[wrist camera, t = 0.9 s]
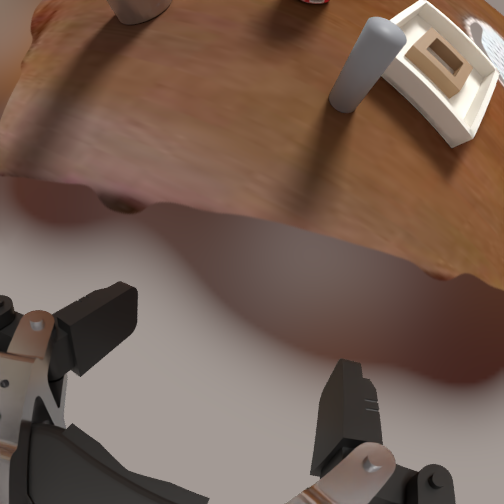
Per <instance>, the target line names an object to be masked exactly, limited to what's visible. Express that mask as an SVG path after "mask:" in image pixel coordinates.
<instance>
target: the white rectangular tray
mask: <svg viewBox="0 0 504 504" xmlns="http://www.w3.org/2000/svg"><path fill="white" fill-rule="evenodd" d="M389 21H391V22H393V23H394V24H396V25H397V26H398V27H399V28H400V29H401V30H402V31H403V32H404V34H405V36H406V39H407V43H406V44H405V46H404V47H403V48H402V50H401V51H400V52H399V53H398V55H397V56H396V57H395V58H394V60H393V61H392V62H391V64H390V65H389V66H388V67H387V69H386V70H385V71H384V73H383V74H382V75H381V77H383V78H384V79H385V80H386V81H387V82H388V83H390V84H391V85H392V86H393V87H394V88H395V89H396V90H397V91H398V92H399V93H401V94H402V95H403V96H404V97H405V98H406V99H407V100H408V101H409V102H410V103H411V104H412V105H413V106H414V107H415V108H416V109H417V110H418V111H419V112H420V113H421V114H422V115H423V116H424V117H425V118H426V119H427V120H428V122H429V123H430V124H431V125H432V126H433V127H434V128H435V129H436V130H437V132H438V133H439V134H440V135H441V136H442V137H443V138H444V140H445V141H446V142H447V143H448V144H449V146H450V147H451V148H454V147H456V146H458V145H460V144H463V143H465V142H467V141H469V140H471V139H473V138H474V136H475V134H476V132H477V129H478V127H479V125H480V123H481V121H482V118H483V116H484V114H485V111H486V109H487V106H488V104H489V101H490V99H491V96H492V93H493V91H494V88H495V85H496V82H497V80H498V77H499V74H500V72H499V71H498V69H497V68H496V67H495V66H494V65H493V63H492V62H491V61H490V60H489V59H488V58H487V56H486V55H485V54H484V53H483V52H482V51H481V50H480V49H479V48H478V47H477V45H476V44H475V43H474V42H473V41H472V40H471V39H470V38H469V37H468V36H467V35H466V34H465V33H464V32H463V31H462V30H461V29H459V28H458V27H457V26H456V25H455V24H454V23H453V22H452V21H451V20H450V19H448V18H447V17H446V16H445V15H444V14H443V13H441V12H440V11H439V10H438V9H437V8H435V7H434V6H433V5H432V4H430V3H429V2H428V1H427V0H419V1H418V2H416V3H415V4H413V5H411V6H410V7H408V8H407V9H405V10H404V11H402V12H401V13H399V14H398V15H397V16H395V17H394V18H392V19H391V20H389Z"/></svg>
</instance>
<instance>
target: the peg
mask: <svg viewBox="0 0 504 504" xmlns="http://www.w3.org/2000/svg"><path fill="white" fill-rule="evenodd" d="M406 43H407V39H406V36H405V34H404V32H403V31H402V30H401V29H400V28H399V27H398V26H397V25H396V24H394V23H393V22H391V21H389V20H387V19H384V18H381V17H371V18H369V19H368V21H367V23H366V25H365V26H364V28H363V30H362V32H361V34H360V36H359V38H358V40H357V42H356V44H355V46H354V48H353V50H352V51H351V53H350V55H349V57H348V59H347V61H346V63H345V65H344V67H343V69H342V71H341V73H340V75H339V77H338V79H337V80H336V82H335V84H334V86H333V88H332V90H331V92H330V94H329V101H330V103H331V105H332V106H333V107H334V108H335V109H336V110H338V111H340V112H342V113H350V112H353V111H354V110H355V109H356V107H357V106H358V105H359V104H360V102H361V101H362V100H363V98H364V97H365V96H366V94H367V93H368V92H369V91H370V89H371V88H372V87H373V85H374V84H375V83H376V82H377V80H378V79H379V78H380V76H381V75H382V74H383V73H384V71H385V70H386V69H387V67H388V66H389V65H390V64H391V62H392V61H393V60H394V58H395V57H396V56H397V55H398V53H399V52H400V51H401V50H402V48H403V47H404V46H405V44H406Z"/></svg>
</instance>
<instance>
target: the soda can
mask: <svg viewBox="0 0 504 504" xmlns="http://www.w3.org/2000/svg"><path fill="white" fill-rule="evenodd" d="M301 1H303V2H307V3H313V4H320V3H326V2H328V1H329V0H301Z"/></svg>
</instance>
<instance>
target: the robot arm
mask: <svg viewBox="0 0 504 504" xmlns="http://www.w3.org/2000/svg"><path fill="white" fill-rule="evenodd" d="M171 1H172V0H107V2H108V3H109V5H110V6H111V8H112V10H113V11H114V13H115V14H116V16H117V18H118V19H119V21H120V22H121V23H123V24H127V25H131V24H138V23H142V22H145V21H147V20H150V19H152V18H154V17H156V16H157V15H159V14H160V13H162V12H163V11H164V10H166V8H167V7H168V6H169V5H170V3H171ZM137 306H138V291H137V289H136V288H135V287H132V286H130V285H128V284H126V283H123V282H121V281H120V282H117V283H115V284H113V285H111V286H110V287H108V288H104V289H99V290H95V291H93V292H92V293H90V294H88V295H86V297H83V298H81V299H79V301H75V302H73V303H72V304H70V305H68V306H66V307H65V308H63V309H61V310H59V311H57V312H56V313H54V314H52V315H51V314H50V313H48V312H46V311H42V310H36V311H31V312H29V313H27V314H25V315H22V314H20V313H18V312H15V311H14V307H13V303H12V300H11V299H10V298H9V297H7V296H3V295H0V504H207V503H208V501H209V498H207V497H204V496H202V495H199V494H196V493H194V492H191V491H189V490H186V489H184V488H182V487H179V486H177V485H175V484H172V483H170V482H166V481H162V480H158V479H154V478H150V477H147V476H143V475H140V474H136V473H133V472H131V471H128V470H127V469H125V468H124V467H123V466H122V465H121V464H120V463H119V462H118V461H117V460H116V459H115V458H114V457H113V456H112V455H111V454H110V453H109V452H108V451H107V450H106V449H105V448H104V447H103V446H102V445H101V444H100V443H99V442H97V441H96V440H94V439H93V438H92V437H90V436H89V435H87V434H86V433H85V432H83V431H82V430H81V429H79V428H78V427H77V426H75V425H74V424H73V423H72V424H71V425H70V426H69V427H68V428H67V429H66V425H65V421H64V406H65V396H66V387H67V372H68V371H70V370H72V371H73V372H74V373H76V374H77V375H78V376H80V377H81V376H82V375H83V374H84V373H86V372H87V371H88V370H89V369H90V368H91V367H92V366H94V365H95V364H96V363H97V362H99V361H100V360H101V359H102V358H103V357H105V356H106V355H107V354H108V353H109V352H110V351H112V350H113V349H114V348H115V347H116V346H118V345H119V344H120V343H121V342H122V341H123V340H125V339H126V338H127V337H128V336H130V335H131V334H132V333H133V331H134V330H135V327H136V325H137ZM377 401H378V399H377V392H376V389H375V387H374V386H373V384H372V382H371V381H370V379H366V378H363V377H362V369H361V364H360V363H358V362H354V361H349V360H345V359H340V360H339V361H338V363H337V365H336V367H335V368H334V371H333V372H332V374H331V376H330V378H329V380H328V382H327V384H326V386H325V387H324V389H323V392H322V395H321V398H320V402H319V410H318V420H317V428H316V436H315V444H314V452H313V458H312V465H311V471H310V475H313V476H319V477H320V480H319V481H317V482H316V483H315V484H314V485H313V486H311V487H310V488H307V489H306V490H304V491H303V492H301V493H300V494H298V495H297V496H295V497H294V498H293V499H291V500H290V501H288V502H287V503H285V504H455V494H454V486H453V480H452V476H451V474H450V473H449V471H448V470H447V469H446V468H444V467H443V466H440V465H436V464H430V465H427V466H425V467H424V468H423V469H421V470H420V471H419V472H417V471H414V470H411V469H408V468H405V467H402V466H400V465H397V464H396V462H395V458H394V455H393V454H392V452H391V451H390V450H389V449H388V448H386V447H385V446H383V442H382V432H381V423H380V414H379V412H378V410H379V407H378V403H377Z"/></svg>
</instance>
